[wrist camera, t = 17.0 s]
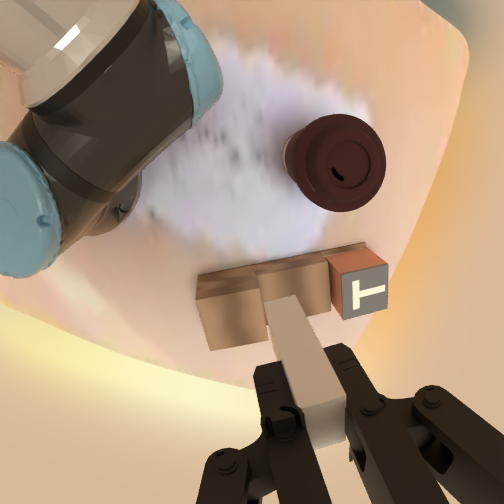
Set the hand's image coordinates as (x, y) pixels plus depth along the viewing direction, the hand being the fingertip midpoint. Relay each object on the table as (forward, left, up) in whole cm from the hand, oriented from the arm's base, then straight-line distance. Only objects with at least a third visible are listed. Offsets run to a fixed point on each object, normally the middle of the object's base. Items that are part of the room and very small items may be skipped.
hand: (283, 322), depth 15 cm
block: (+14, -13, -23) cm, 30 cm away
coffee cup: (+10, +5, -31) cm, 33 cm away
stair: (+5, -13, -30) cm, 33 cm away
